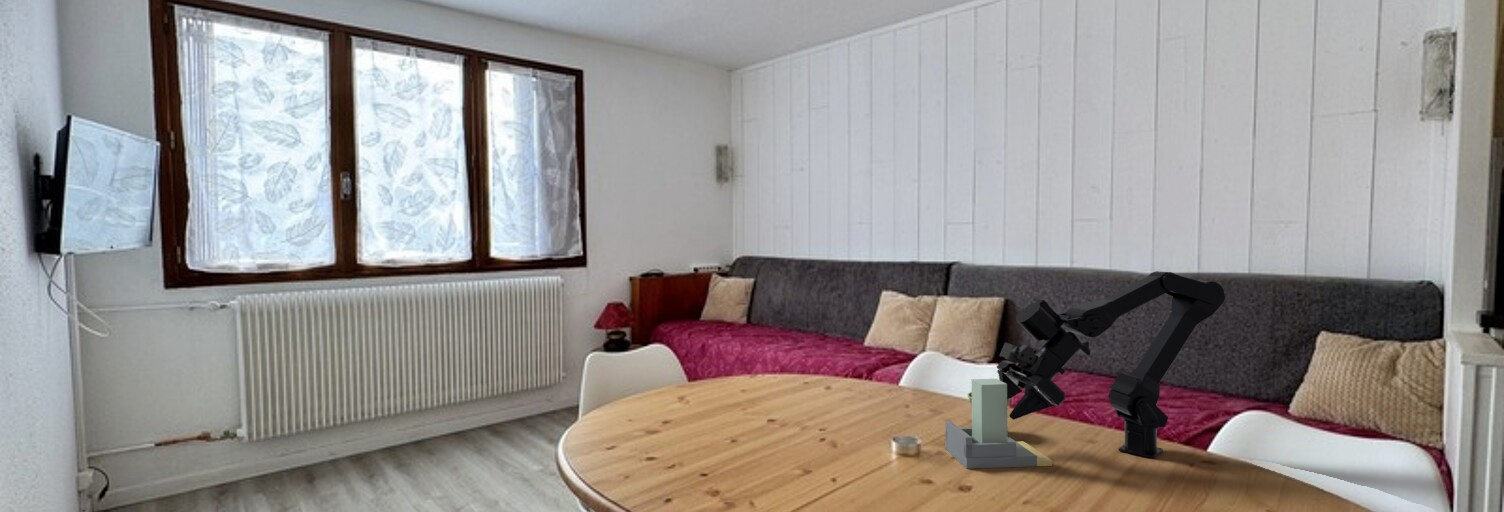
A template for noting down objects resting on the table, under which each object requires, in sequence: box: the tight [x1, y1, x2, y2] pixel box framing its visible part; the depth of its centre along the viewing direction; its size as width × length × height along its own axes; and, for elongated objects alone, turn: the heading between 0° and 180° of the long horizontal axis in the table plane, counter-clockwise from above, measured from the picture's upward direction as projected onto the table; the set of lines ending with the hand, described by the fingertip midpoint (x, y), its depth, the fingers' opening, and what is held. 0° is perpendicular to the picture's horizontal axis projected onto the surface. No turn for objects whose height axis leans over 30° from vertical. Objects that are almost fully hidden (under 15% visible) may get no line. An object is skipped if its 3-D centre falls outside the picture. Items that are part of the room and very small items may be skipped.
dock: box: [944, 420, 1053, 470], centre depth 131 cm, size 17×12×6 cm
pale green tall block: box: [970, 378, 1008, 443], centre depth 131 cm, size 6×6×14 cm
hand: (1001, 411), depth 131 cm, fingers open, 9 cm apart
